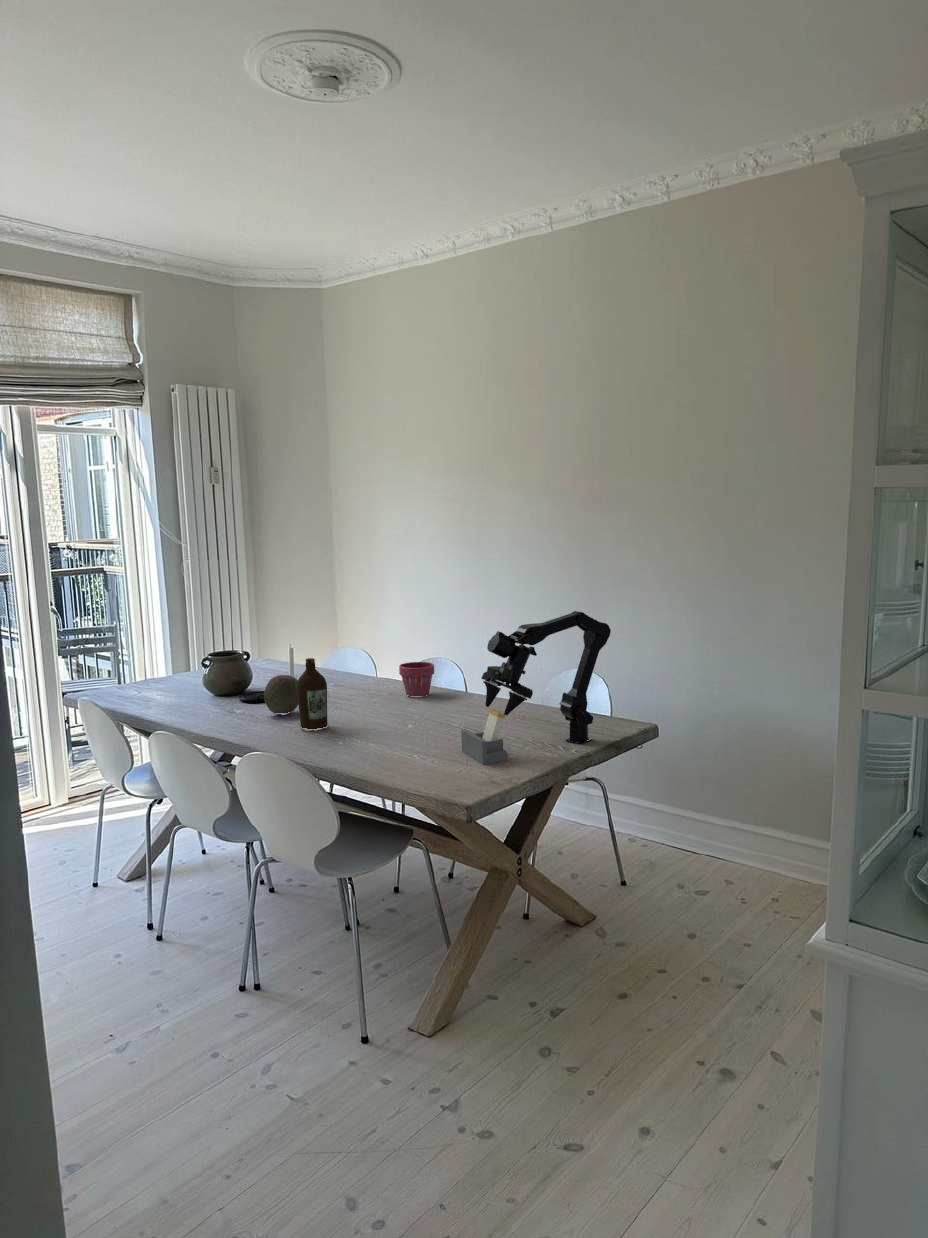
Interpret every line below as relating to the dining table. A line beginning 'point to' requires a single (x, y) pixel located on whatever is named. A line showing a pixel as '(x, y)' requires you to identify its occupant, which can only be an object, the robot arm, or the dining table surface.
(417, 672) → the plant pot
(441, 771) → the dining table surface
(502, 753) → the breaker box
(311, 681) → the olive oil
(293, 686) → the cantaloupe
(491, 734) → the breaker lever
